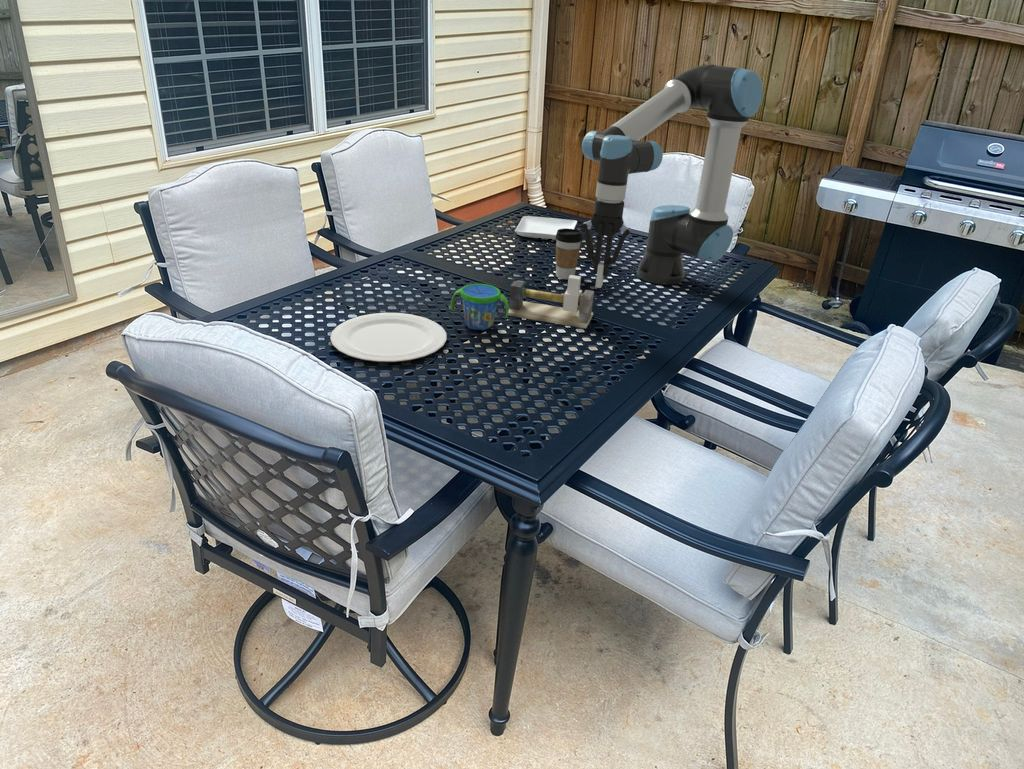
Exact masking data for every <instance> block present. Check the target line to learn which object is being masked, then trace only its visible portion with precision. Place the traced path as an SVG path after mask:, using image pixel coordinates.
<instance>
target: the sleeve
mask: <svg viewBox="0 0 1024 769" xmlns="http://www.w3.org/2000/svg"><path fill="white" fill-rule="evenodd" d="M567 280H568V281H567V288H566V290H565V292H564V294H563V295H564V301H563V303H562V308H563V310H564V311H570V312H576V313H577V311H578V310H579V308H580V305H578V301H579V297H580V298H581V297H582V295H583V290H582V289H580V288H581V281H582V276H581V275H580V276H579V275H576V274H575V275H570V276H569V278H568V279H567Z"/></svg>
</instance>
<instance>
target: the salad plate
mask: <svg viewBox="0 0 1024 769" xmlns="http://www.w3.org/2000/svg"><path fill="white" fill-rule="evenodd" d="M577 224H578V221H577V220H574V219H565V218H564V219H563V218H554V217H546V216H545V217H544V216H543V217H541V216H529V215H524V216H522V217H521V219H520V221H519V223H518V225H517V226H516V228H515V230H514V231H515V233H516V234H517V235H519V236H521V237H524V238H529V239H530V238H531V239H538V238H541V239H540V240H548V239H552V240H551V241H557V240H556V234H557V230H559V229H575V228H576V225H577Z"/></svg>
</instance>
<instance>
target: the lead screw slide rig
mask: <svg viewBox="0 0 1024 769" xmlns="http://www.w3.org/2000/svg"><path fill="white" fill-rule="evenodd" d="M509 286H510V288H509V289H510V290H509V301H508V304H509V312H508V315H507V316H508V317H509V316H510V317H517V318H520V319H521V318H523V319H528V320H533V321H539V322H546V323H551V324H558V325H562V326H567V327H568V326H569V327H575V328H580V329H587V328H588V326H589V324H590V322H591V320H592V318H593V317H594V312H593V305H594V304H593V302H594V294H595V290H588V289H585V290H584V292H582V296H581V298H580V297H579V301H578V305H580V308H579V310H578V311H577V313H576V312H570V311H564V310H563V306H562V307H560V306H555V305H551V304H550V305H549V304H543V303H539V302H530V301H526V300H525V301H524V298H531V299H537V300H544V301H549V302H555V303H556V302H557V303H562V304H563V301H564V294H562V293H561V294H560V293H554V292H549V291H542V290H536V289H531V288H527V287H525V281H520V280H514V281H513V282H512V283H511V284H510V285H509Z"/></svg>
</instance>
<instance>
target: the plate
mask: <svg viewBox="0 0 1024 769" xmlns="http://www.w3.org/2000/svg"><path fill="white" fill-rule="evenodd" d="M447 336H448V335H447V332H446V330H445V329H444V327H443V326H441V325H440V324H439V323H437V322H436V321H433V320H431V319H429V318H426V317H424V316H420V315H415V314H410V313H403V312H402V313H401V312H380V313H378V312H377V313H369V314H364V315H359V316H357V317H353V318H350V319H347V320H345V321H344V322H342V323H340V324H339V325H337V326H336V327H335V328H334V329H333V330H332V331H331V334H330V343H331V345H332V346H333V347H334V348H335V349H336V350H337V351H338V352H340V353H342V354H344V355H346V356H348V357H350V358H351V357H352V358H354V359H358V360H361V361H366V362H367V361H369V362H374V363H375V362H376V363H399V362H409V361H414V360H418V359H421V358H425V357H428V356H431V355H432V354H434V353H437V351H439V350H440V349H441V348H443V347H444V346H445V343H446V342H447V339H448V337H447Z"/></svg>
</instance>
